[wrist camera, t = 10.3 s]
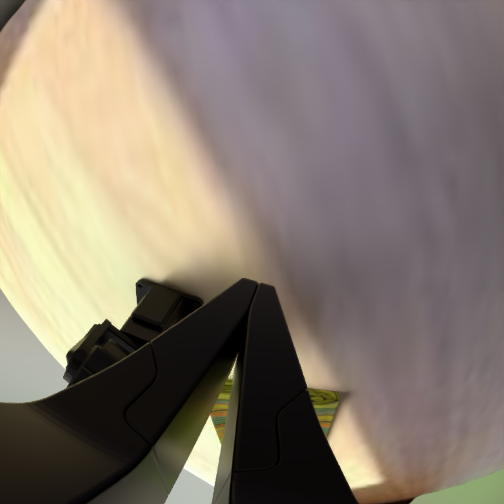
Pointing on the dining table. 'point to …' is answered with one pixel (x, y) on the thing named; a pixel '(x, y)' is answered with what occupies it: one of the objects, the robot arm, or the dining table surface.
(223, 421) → the dish towel
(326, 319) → the dining table surface
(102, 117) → the dining table surface
